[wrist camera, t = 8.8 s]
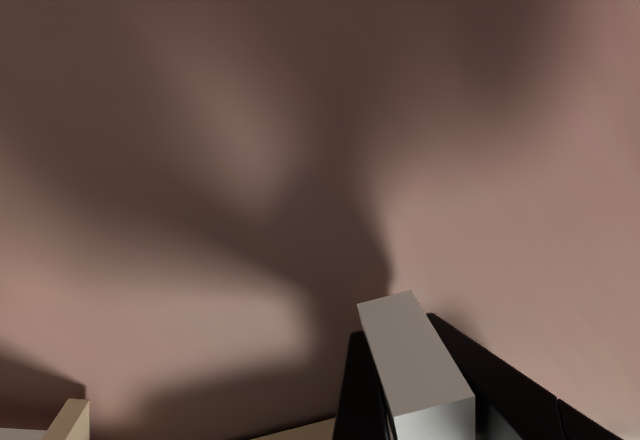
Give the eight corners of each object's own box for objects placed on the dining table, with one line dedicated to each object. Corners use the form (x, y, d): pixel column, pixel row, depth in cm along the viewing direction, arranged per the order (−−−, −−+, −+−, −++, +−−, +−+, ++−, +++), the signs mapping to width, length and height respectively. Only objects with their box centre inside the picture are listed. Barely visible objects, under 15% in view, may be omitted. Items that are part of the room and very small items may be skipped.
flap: (365, 423, 12) (397, 559, 9) (330, 296, 9) (357, 426, 6) (507, 386, 12) (595, 509, 9) (516, 248, 9) (656, 349, 6)
